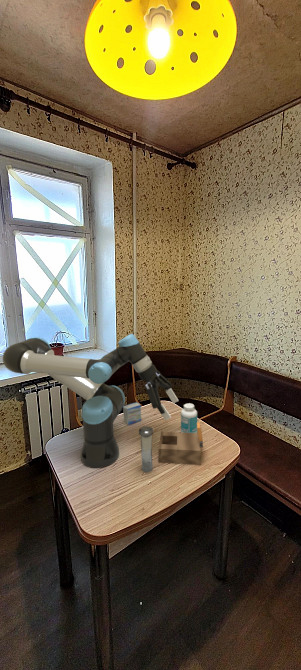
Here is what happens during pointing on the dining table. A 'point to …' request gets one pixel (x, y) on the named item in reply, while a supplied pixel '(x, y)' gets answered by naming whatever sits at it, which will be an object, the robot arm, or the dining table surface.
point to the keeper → (199, 431)
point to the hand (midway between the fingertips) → (172, 409)
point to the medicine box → (132, 413)
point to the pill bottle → (189, 419)
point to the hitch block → (180, 448)
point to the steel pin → (146, 448)
